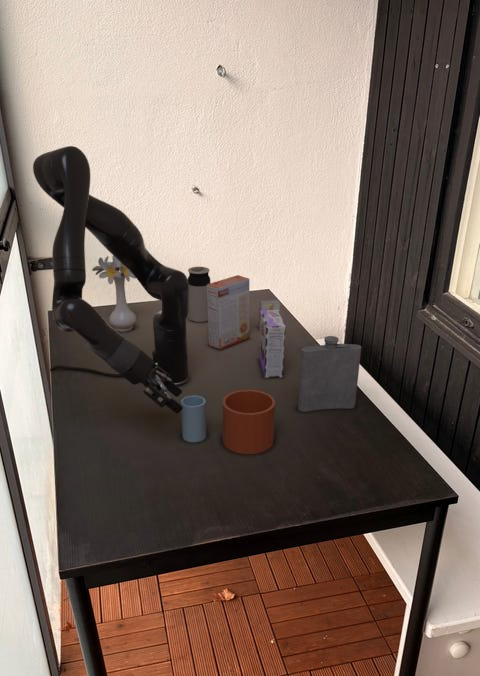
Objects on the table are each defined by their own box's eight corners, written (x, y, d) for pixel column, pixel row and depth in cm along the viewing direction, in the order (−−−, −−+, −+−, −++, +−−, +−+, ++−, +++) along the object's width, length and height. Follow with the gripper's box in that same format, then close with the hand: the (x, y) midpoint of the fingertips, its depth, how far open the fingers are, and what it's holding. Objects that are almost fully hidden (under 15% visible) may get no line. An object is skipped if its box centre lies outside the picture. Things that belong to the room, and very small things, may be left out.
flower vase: (154, 332, 222) (150, 260, 209) (99, 337, 218) (91, 263, 205) (149, 319, 232) (145, 249, 220) (97, 323, 228) (89, 252, 216)
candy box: (258, 359, 203) (260, 309, 195) (277, 358, 204) (279, 308, 195) (263, 378, 191) (265, 326, 183) (283, 377, 192) (286, 325, 184)
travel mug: (185, 320, 232) (183, 271, 223) (194, 313, 238) (193, 265, 229) (205, 323, 229) (204, 274, 220) (214, 316, 235) (213, 267, 226)
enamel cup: (179, 440, 161) (177, 405, 156) (187, 428, 166) (185, 394, 161) (202, 443, 159) (201, 408, 154) (209, 432, 164) (208, 397, 159)
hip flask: (299, 412, 174) (303, 343, 163) (295, 405, 177) (299, 337, 167) (356, 408, 176) (364, 339, 166) (351, 401, 179) (359, 333, 169)
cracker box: (237, 334, 221) (237, 274, 210) (250, 339, 217) (250, 278, 207) (207, 345, 212) (205, 283, 202) (219, 350, 209) (218, 287, 198)
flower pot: (216, 450, 157) (216, 410, 151) (230, 424, 167) (230, 387, 162) (267, 457, 154) (268, 417, 149) (278, 431, 165) (279, 393, 159)
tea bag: (258, 326, 227) (259, 299, 222) (277, 325, 228) (278, 298, 223) (260, 330, 224) (260, 302, 219) (279, 329, 225) (280, 302, 220)
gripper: (120, 358, 158) (169, 398, 165) (115, 384, 146) (169, 426, 152) (140, 337, 156) (190, 379, 162) (137, 362, 143) (191, 406, 150)
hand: (180, 402), depth 157 cm, fingers open, 8 cm apart
